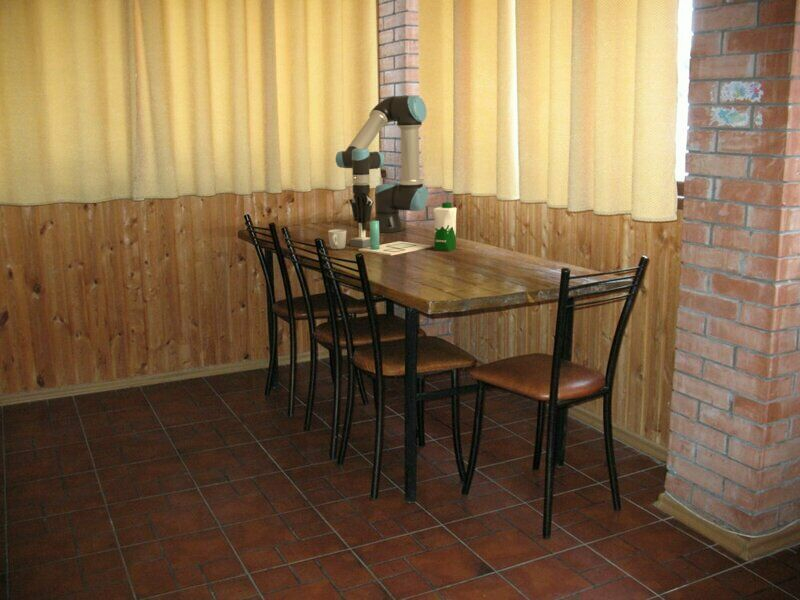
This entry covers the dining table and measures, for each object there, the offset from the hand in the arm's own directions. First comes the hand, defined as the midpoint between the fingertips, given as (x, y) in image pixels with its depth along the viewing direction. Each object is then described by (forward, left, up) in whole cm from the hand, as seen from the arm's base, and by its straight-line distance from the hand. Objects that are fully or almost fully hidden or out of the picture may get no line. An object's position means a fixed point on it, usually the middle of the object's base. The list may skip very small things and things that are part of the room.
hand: (362, 237), depth 389 cm
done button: (0, 0, -3) cm, 3 cm away
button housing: (0, 0, -4) cm, 4 cm away
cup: (+14, -2, -4) cm, 15 cm away
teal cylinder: (+7, +14, -3) cm, 16 cm away
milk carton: (-14, +36, -4) cm, 39 cm away
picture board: (-2, +18, -4) cm, 18 cm away
